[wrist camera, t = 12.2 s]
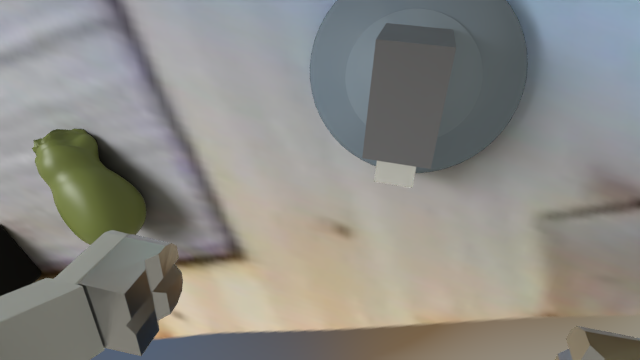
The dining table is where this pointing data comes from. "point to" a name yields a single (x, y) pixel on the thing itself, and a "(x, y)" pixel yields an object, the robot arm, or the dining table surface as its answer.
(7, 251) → the battery
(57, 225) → the dining table surface
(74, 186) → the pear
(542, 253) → the dining table surface
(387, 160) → the block
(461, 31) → the plate
